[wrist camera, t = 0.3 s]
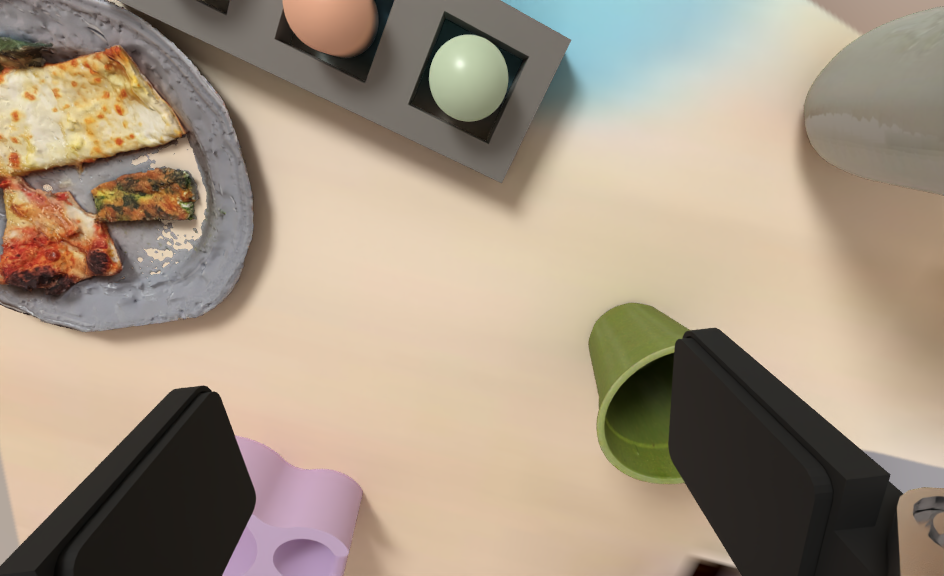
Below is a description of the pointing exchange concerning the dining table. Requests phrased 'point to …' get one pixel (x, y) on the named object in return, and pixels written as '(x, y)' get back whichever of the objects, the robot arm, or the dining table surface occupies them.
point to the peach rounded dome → (334, 24)
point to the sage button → (468, 78)
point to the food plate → (110, 171)
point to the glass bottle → (885, 104)
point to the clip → (294, 518)
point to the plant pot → (636, 389)
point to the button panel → (390, 65)
